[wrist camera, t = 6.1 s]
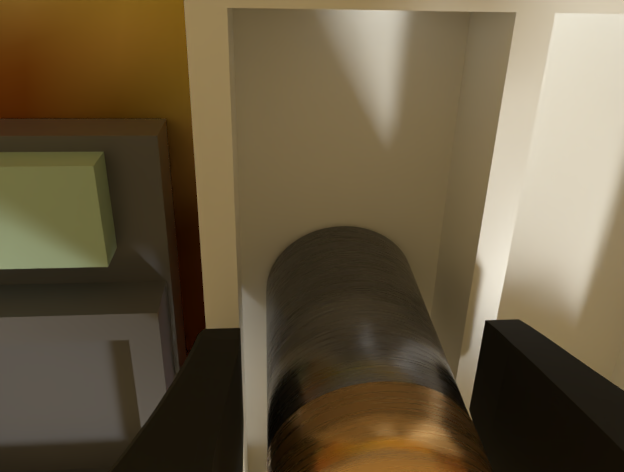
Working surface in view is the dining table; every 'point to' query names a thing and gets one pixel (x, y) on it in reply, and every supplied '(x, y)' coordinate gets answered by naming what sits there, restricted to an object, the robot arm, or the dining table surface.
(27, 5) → the dining table surface
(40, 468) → the checker cradle
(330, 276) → the battery cell
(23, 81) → the dining table surface
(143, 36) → the dining table surface
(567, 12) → the trough tray
